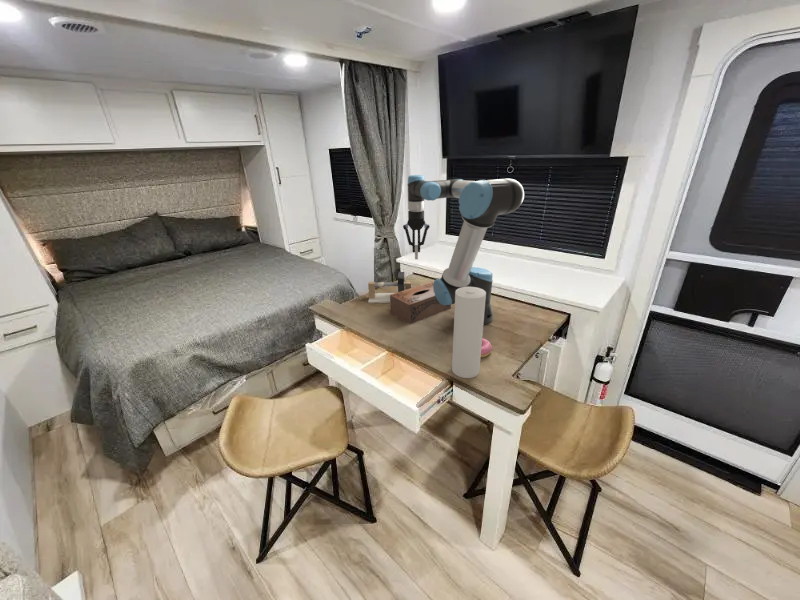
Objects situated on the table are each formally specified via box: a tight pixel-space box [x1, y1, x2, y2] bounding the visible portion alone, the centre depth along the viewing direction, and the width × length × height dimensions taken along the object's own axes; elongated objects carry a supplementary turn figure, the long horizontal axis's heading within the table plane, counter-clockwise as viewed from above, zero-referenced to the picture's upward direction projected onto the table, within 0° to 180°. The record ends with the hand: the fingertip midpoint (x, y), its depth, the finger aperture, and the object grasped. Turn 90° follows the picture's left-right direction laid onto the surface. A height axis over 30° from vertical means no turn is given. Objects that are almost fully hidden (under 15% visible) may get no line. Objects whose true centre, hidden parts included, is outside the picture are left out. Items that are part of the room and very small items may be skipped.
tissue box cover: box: [389, 281, 452, 326], centre depth 157 cm, size 26×14×10 cm, turn 127°
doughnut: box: [480, 337, 493, 358], centre depth 125 cm, size 11×11×4 cm
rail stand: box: [367, 281, 412, 304], centre depth 172 cm, size 11×22×9 cm, turn 87°
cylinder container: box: [451, 287, 486, 379], centre depth 109 cm, size 9×9×30 cm
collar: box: [397, 271, 405, 293], centre depth 170 cm, size 10×3×10 cm, turn 177°
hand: (416, 258), depth 164 cm, fingers closed
